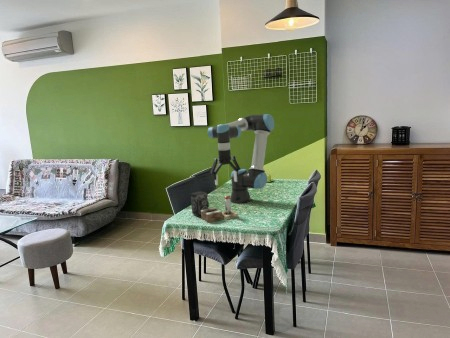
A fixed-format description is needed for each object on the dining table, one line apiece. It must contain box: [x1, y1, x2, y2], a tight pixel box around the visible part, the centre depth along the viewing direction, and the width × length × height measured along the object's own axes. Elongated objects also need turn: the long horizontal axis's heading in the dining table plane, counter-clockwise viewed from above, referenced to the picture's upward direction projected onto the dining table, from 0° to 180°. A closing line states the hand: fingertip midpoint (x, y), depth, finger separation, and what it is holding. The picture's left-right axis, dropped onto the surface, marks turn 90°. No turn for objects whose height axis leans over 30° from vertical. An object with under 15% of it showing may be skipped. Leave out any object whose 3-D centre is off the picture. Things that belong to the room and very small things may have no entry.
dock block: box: [200, 206, 223, 224], centre depth 213 cm, size 10×10×6 cm
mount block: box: [222, 210, 239, 220], centre depth 217 cm, size 9×9×2 cm
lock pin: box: [224, 195, 232, 215], centre depth 216 cm, size 4×4×13 cm
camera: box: [190, 191, 210, 217], centre depth 222 cm, size 10×10×15 cm
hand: (226, 183), depth 213 cm, fingers open, 13 cm apart
